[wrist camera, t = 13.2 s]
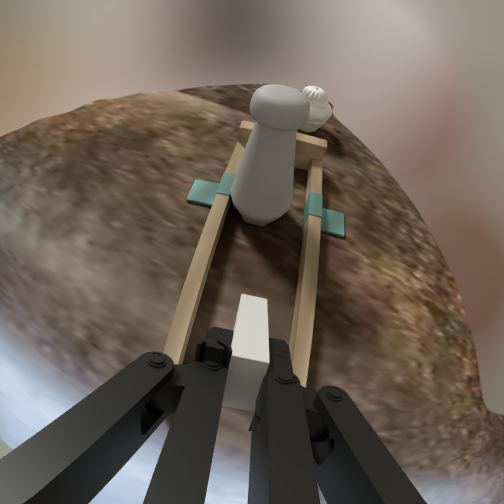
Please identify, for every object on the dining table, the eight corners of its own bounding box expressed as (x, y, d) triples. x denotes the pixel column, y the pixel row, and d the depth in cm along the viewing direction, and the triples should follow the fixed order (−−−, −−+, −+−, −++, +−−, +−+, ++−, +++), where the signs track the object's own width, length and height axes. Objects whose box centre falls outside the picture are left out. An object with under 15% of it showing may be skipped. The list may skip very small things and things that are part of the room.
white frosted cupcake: (327, 125, 40) (340, 87, 34) (321, 143, 36) (336, 102, 31) (290, 112, 40) (299, 74, 34) (279, 129, 37) (289, 86, 31)
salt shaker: (298, 218, 28) (340, 105, 17) (253, 243, 26) (282, 118, 15) (262, 182, 30) (285, 73, 19) (217, 203, 28) (226, 82, 17)
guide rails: (118, 386, 17) (98, 379, 14) (215, 142, 33) (216, 116, 30) (329, 431, 17) (352, 433, 14) (340, 171, 33) (351, 147, 30)
